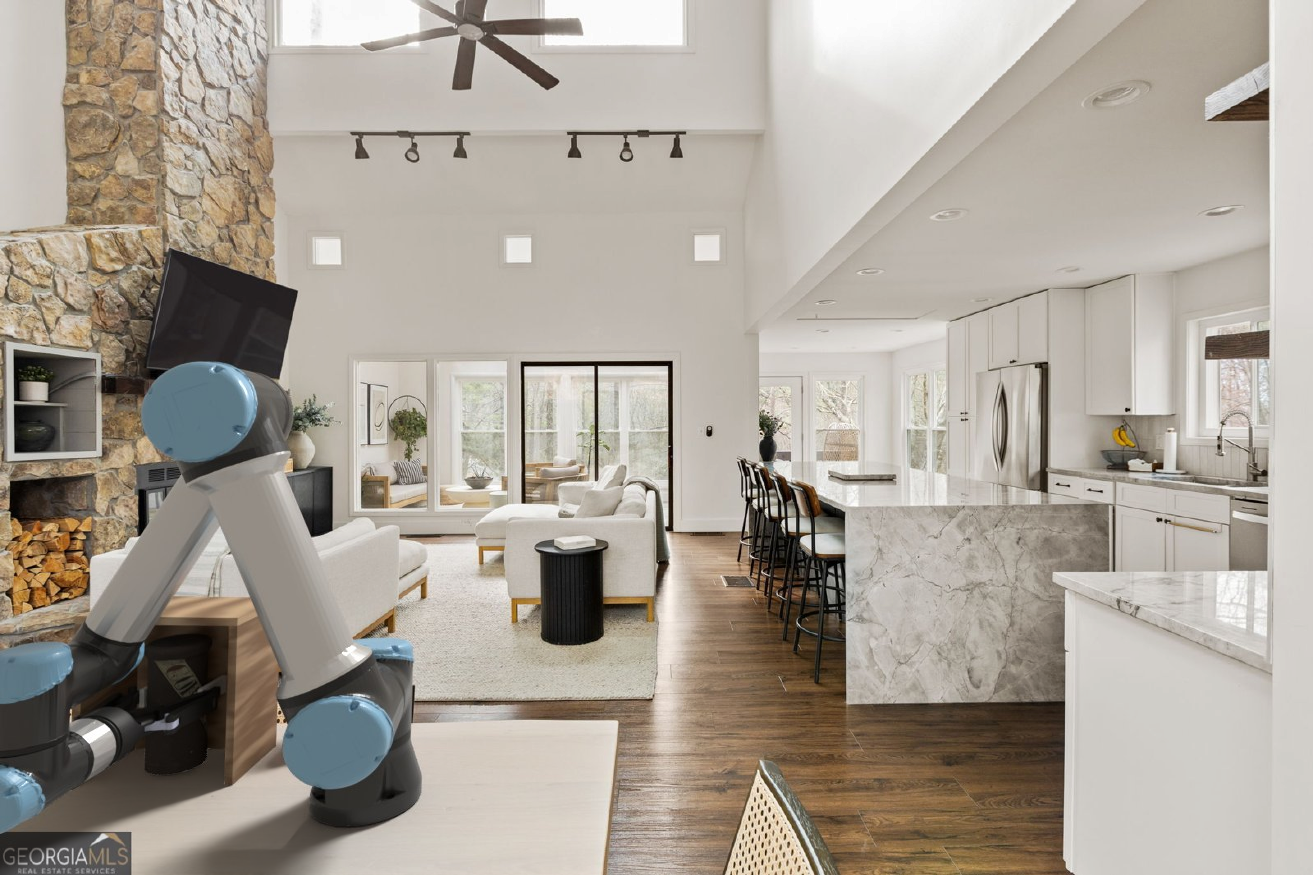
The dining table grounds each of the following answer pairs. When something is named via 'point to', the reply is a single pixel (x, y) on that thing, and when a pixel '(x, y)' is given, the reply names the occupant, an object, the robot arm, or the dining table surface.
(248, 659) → the cubby
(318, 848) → the dining table surface
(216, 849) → the dining table surface
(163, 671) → the container
